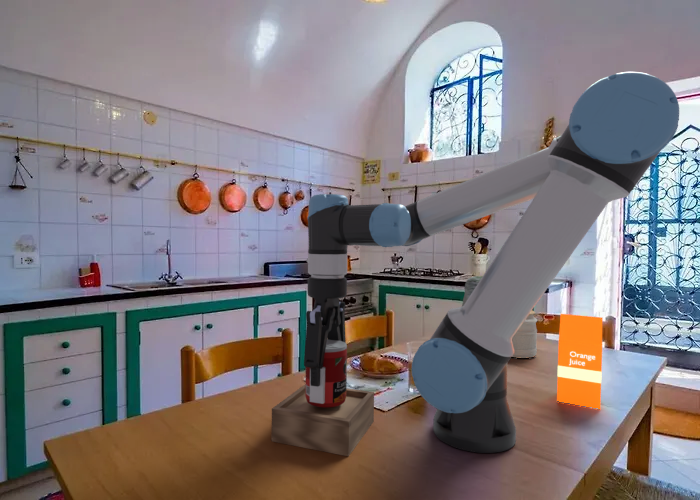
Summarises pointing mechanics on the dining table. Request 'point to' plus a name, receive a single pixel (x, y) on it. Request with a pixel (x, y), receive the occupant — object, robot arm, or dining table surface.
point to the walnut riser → (323, 422)
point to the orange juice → (580, 360)
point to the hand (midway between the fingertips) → (326, 394)
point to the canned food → (332, 375)
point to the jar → (526, 338)
